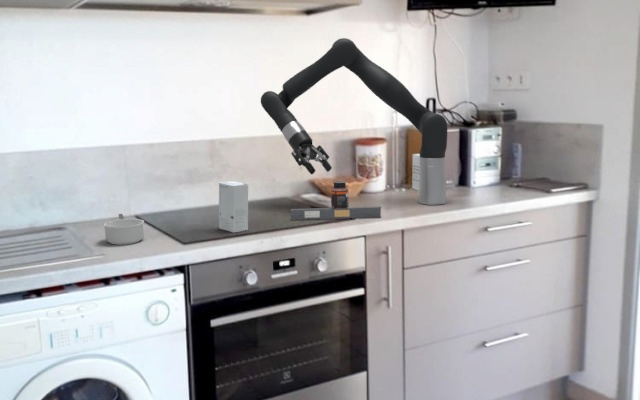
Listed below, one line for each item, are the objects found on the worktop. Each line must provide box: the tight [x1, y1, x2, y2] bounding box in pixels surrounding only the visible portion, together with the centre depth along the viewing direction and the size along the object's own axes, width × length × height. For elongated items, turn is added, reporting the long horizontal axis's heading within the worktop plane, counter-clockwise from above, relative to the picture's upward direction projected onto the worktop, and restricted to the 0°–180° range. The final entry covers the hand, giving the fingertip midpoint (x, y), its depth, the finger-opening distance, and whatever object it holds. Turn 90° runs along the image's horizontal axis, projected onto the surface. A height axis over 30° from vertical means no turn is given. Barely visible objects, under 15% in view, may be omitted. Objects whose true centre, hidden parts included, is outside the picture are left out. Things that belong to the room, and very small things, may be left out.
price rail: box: [290, 206, 382, 221], centre depth 213 cm, size 30×2×4 cm, turn 94°
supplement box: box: [411, 153, 420, 192], centre depth 267 cm, size 9×9×15 cm
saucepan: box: [102, 213, 145, 246], centre depth 191 cm, size 12×20×6 cm, turn 21°
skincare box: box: [218, 180, 249, 233], centre depth 199 cm, size 8×6×15 cm
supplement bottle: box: [330, 180, 349, 208], centre depth 218 cm, size 6×6×11 cm
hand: (321, 171), depth 221 cm, fingers open, 8 cm apart
